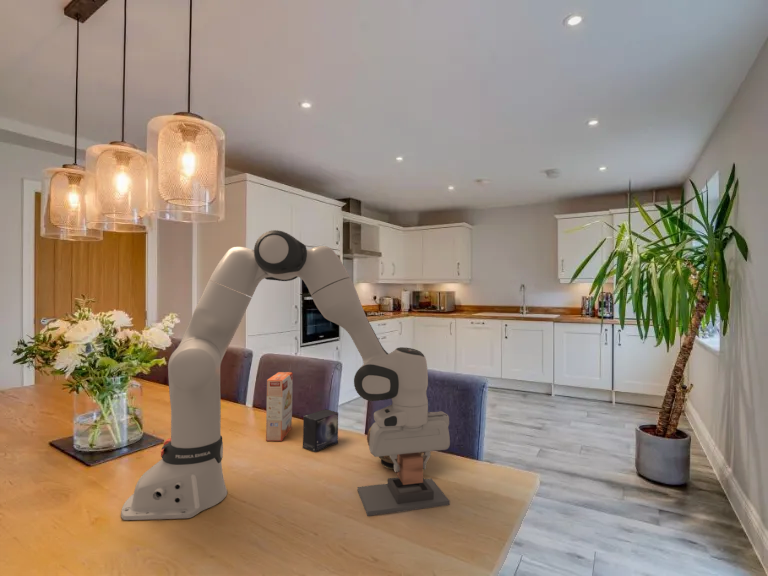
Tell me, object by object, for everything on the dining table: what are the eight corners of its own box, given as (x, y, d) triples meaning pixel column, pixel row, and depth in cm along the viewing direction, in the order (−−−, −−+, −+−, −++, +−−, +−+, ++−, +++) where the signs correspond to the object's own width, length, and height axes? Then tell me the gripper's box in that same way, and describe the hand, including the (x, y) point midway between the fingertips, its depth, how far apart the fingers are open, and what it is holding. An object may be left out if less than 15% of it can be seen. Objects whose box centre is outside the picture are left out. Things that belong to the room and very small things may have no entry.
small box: (315, 453, 128) (315, 419, 128) (301, 448, 132) (301, 415, 132) (339, 443, 137) (339, 411, 137) (325, 439, 141) (325, 408, 141)
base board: (367, 516, 92) (367, 502, 92) (357, 490, 104) (357, 479, 104) (449, 504, 97) (449, 492, 97) (431, 482, 109) (431, 470, 109)
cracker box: (283, 441, 138) (283, 379, 138) (265, 441, 138) (265, 379, 138) (293, 428, 152) (293, 371, 152) (277, 427, 152) (277, 371, 152)
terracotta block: (397, 475, 103) (397, 451, 103) (416, 473, 104) (416, 450, 104) (403, 484, 98) (403, 459, 98) (423, 482, 100) (423, 457, 100)
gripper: (444, 407, 107) (444, 460, 107) (367, 413, 102) (367, 468, 102) (454, 414, 101) (454, 470, 101) (373, 420, 96) (373, 480, 96)
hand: (409, 469), depth 101 cm, fingers closed on terracotta block, 5 cm apart
